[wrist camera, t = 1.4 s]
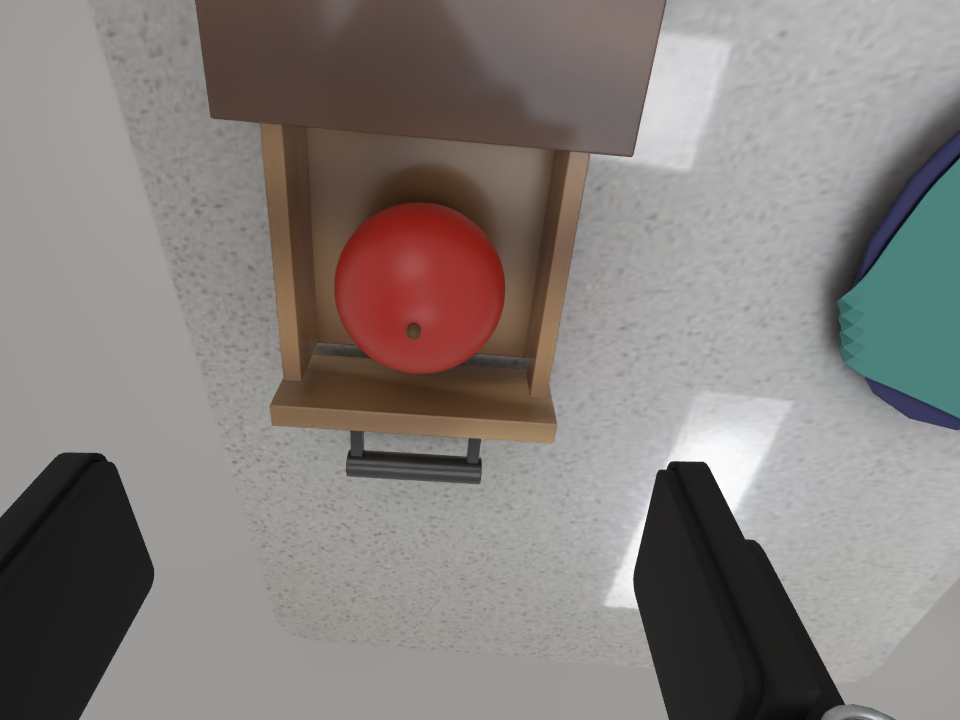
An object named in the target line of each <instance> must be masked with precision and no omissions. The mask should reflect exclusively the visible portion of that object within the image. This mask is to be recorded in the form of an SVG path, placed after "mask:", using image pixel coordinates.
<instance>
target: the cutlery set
mask: <svg viewBox="0 0 960 720" xmlns="http://www.w3.org/2000/svg"><path fill="white" fill-rule="evenodd" d="M837 303H838V306H839V309H840V314H839V317H838V319H839V322H840V325H841V330H840V332H839V335H840V338H841V342H842V343H841V346H840V348H839V350H840V353H841V355H842V358H843V361H844V363H846V364H847V365H848V366H849V367H850V368H852V369H853V370H854V371H856V372H858V373H859V374H861V375H863V376H865V378H866V380H867V382H868V384H869V386H870V388H871V389H872V391H873V393H874V394H876V395H877V396H878V397H880V398H881V399H883V400H884V401H885V402H887V403H888V404H890V405H891V406H892V407H894V408H895V409H897V410H898V411H899V412H901V413H902V414H904V415H905V416H907V417H908V418H910V419H914V420H918V421H922V422H926V423H930V424H934V425H938V426H942V427H946V428H950V429H954V430H960V130H959V131H958V132H957V133H956V134H955V135H954V136H953V137H952V138H951V139H949V140H948V141H947V142H946V143H945V144H944V145H943V146H942V147H941V148H940V149H939V150H938V151H937V152H936V153H935V154H934V155H933V156H932V157H931V158H930V159H929V160H928V161H927V162H926V163H925V164H923V165H922V166H921V167H920V168H919V169H918V170H917V171H916V172H915V173H914V174H913V175H912V176H911V177H910V179H909V180H908V182H907V183H906V185H905V186H904V188H903V189H902V191H901V192H900V194H899V195H898V197H897V198H896V200H895V201H894V203H893V204H892V206H891V207H890V209H889V211H888V212H887V214H886V215H885V217H884V218H883V220H882V221H881V223H880V224H879V226H878V227H877V229H876V230H875V232H874V233H873V235H872V236H871V238H870V239H869V241H868V243H867V247H866V250H865V253H864V256H863V259H862V262H861V265H860V268H859V271H858V274H857V277H856V281H855V284H854V287H853V289H852V290H851V291H849V292H848V293H847V294H845V295H844V296H843V297H841V298H840V299H839V300H838V301H837Z"/></svg>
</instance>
